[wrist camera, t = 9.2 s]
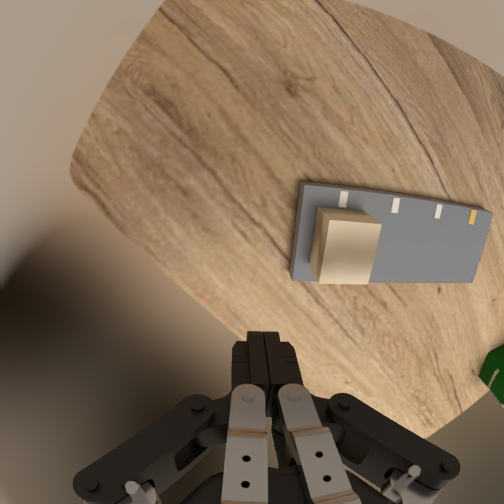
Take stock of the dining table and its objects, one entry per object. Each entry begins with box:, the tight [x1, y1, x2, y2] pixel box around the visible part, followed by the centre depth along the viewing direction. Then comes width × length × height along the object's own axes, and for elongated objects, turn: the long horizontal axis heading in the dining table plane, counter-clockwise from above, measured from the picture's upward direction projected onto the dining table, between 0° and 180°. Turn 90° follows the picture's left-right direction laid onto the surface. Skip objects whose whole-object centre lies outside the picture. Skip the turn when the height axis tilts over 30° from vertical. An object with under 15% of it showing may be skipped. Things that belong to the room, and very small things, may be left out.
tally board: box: [289, 181, 493, 283], centre depth 32 cm, size 10×26×2 cm, turn 86°
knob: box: [309, 207, 382, 284], centre depth 28 cm, size 6×5×4 cm
